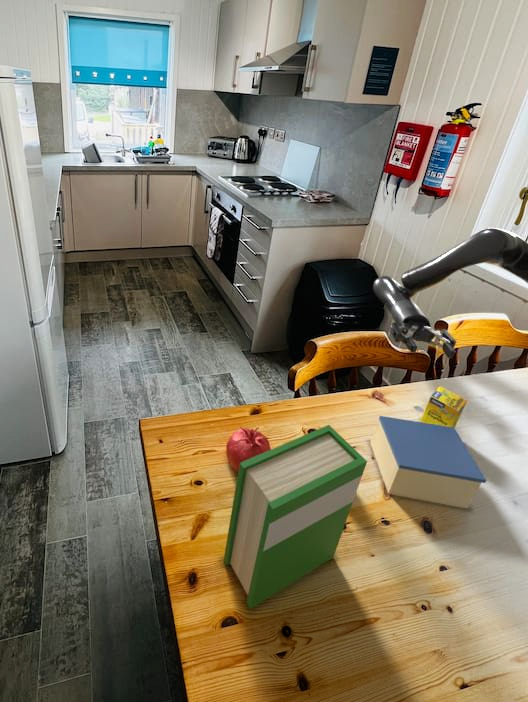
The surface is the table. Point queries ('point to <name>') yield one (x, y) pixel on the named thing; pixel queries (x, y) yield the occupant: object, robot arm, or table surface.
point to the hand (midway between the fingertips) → (433, 352)
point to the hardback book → (291, 510)
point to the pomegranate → (245, 446)
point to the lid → (430, 449)
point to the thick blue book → (419, 478)
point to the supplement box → (443, 408)
